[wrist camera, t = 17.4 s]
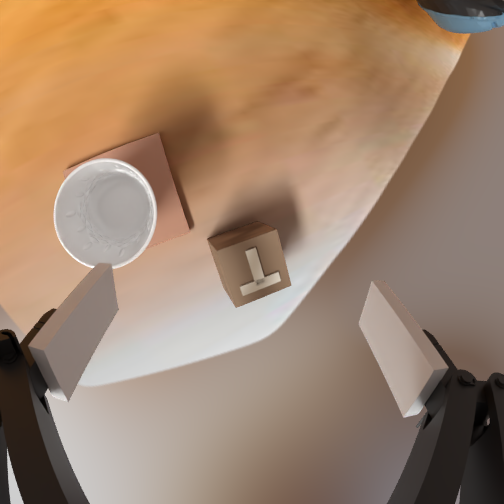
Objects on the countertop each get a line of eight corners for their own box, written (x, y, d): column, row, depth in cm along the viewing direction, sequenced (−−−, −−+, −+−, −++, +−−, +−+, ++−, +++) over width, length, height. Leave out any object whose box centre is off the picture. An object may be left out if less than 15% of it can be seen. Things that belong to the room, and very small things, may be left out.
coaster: (158, 133, 28) (158, 132, 27) (189, 231, 31) (190, 232, 30) (65, 171, 26) (62, 171, 25) (98, 266, 29) (96, 268, 28)
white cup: (142, 253, 29) (133, 285, 20) (76, 226, 27) (41, 245, 17) (171, 183, 29) (175, 183, 19) (104, 154, 26) (78, 142, 17)
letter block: (258, 220, 33) (279, 229, 28) (272, 268, 35) (293, 285, 29) (206, 238, 32) (216, 251, 26) (223, 287, 34) (236, 308, 28)
